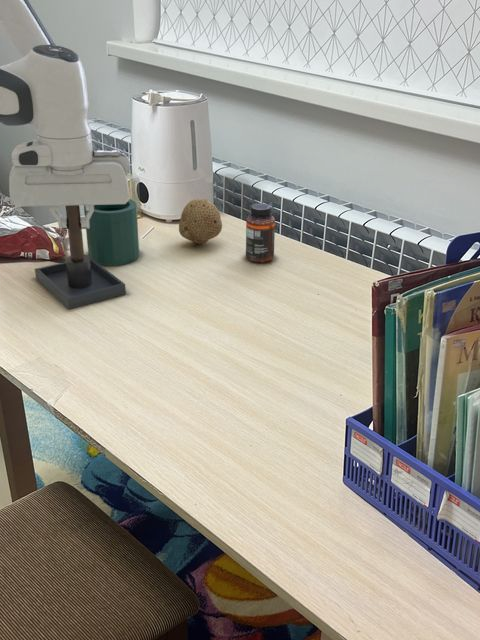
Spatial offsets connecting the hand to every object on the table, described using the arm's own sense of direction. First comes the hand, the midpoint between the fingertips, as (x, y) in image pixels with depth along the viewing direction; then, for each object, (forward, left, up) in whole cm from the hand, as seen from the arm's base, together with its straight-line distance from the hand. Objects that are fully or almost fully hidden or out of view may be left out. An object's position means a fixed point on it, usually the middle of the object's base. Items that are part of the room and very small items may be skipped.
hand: (74, 228), depth 124 cm
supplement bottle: (+7, +37, -12) cm, 39 cm away
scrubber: (0, 0, -11) cm, 11 cm away
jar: (-10, +12, -12) cm, 20 cm away
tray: (0, 0, -12) cm, 12 cm away
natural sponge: (-6, +31, -12) cm, 34 cm away
